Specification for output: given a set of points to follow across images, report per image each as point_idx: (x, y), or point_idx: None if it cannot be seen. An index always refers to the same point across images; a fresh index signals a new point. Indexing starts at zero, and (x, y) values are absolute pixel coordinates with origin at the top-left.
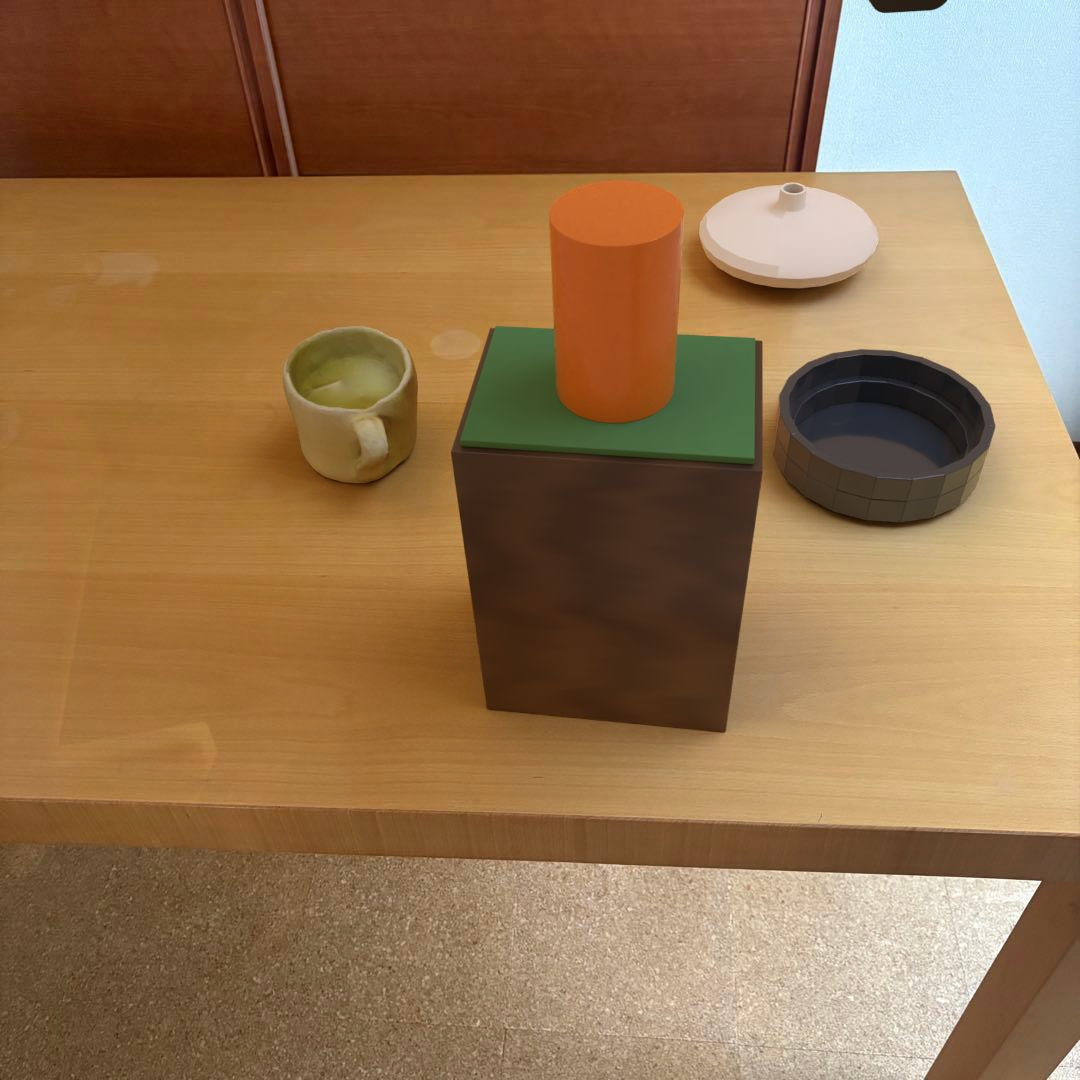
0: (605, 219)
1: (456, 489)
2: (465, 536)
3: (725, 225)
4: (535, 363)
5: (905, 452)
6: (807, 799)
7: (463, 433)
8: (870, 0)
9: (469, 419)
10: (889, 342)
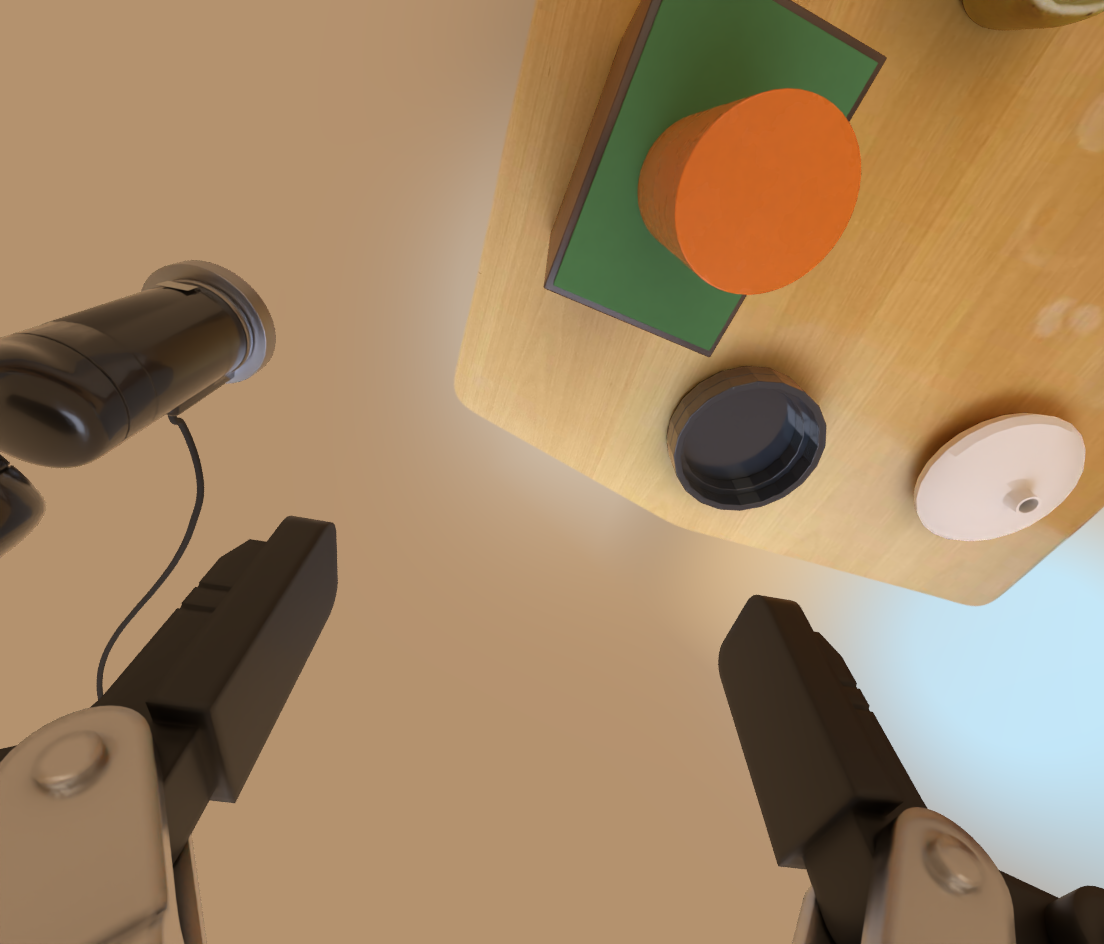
0: (753, 178)
1: None
2: None
3: (1042, 440)
4: None
5: (727, 449)
6: (492, 269)
7: None
8: (288, 517)
9: None
10: (836, 491)
